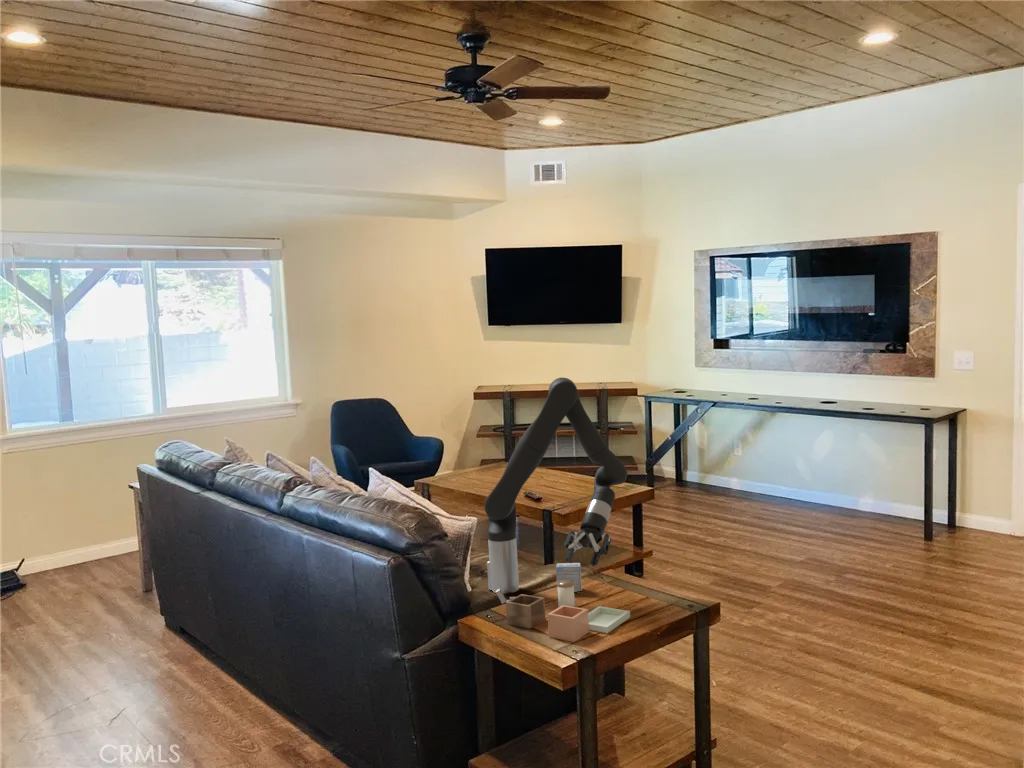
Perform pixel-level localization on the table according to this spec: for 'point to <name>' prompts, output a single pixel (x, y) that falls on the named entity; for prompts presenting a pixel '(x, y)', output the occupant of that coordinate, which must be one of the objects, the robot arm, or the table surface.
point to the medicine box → (570, 574)
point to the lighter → (502, 596)
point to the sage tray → (606, 619)
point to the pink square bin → (568, 623)
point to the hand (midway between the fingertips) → (580, 563)
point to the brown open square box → (525, 611)
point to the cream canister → (566, 593)
